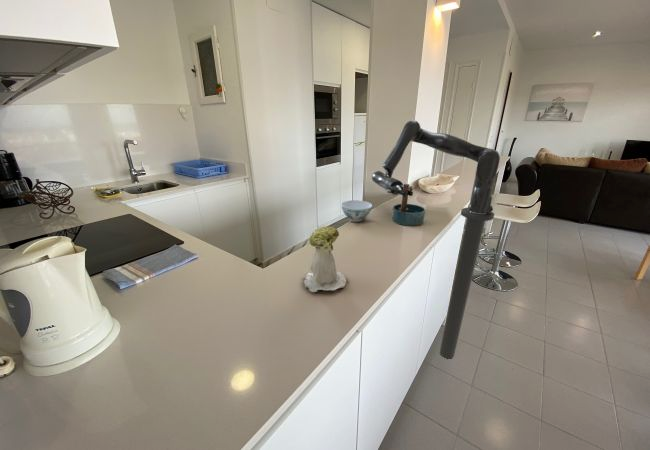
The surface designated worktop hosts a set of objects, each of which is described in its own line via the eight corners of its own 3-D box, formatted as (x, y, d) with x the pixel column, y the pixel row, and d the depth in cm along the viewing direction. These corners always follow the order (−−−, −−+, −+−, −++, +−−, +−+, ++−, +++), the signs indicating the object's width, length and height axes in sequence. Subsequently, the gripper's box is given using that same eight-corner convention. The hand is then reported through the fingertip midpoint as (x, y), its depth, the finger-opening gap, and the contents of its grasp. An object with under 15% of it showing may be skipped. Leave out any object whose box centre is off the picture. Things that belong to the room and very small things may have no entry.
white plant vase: (351, 291, 81) (354, 234, 75) (308, 297, 78) (307, 238, 72) (339, 271, 92) (341, 219, 85) (301, 275, 89) (300, 222, 82)
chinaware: (337, 215, 144) (337, 201, 141) (363, 213, 147) (364, 199, 144) (346, 226, 130) (347, 210, 127) (376, 223, 134) (377, 207, 131)
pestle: (407, 215, 138) (411, 183, 132) (407, 218, 134) (411, 185, 128) (398, 214, 139) (401, 183, 133) (398, 217, 135) (401, 185, 129)
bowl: (422, 217, 142) (424, 205, 140) (424, 227, 128) (426, 214, 126) (392, 214, 146) (393, 202, 143) (391, 224, 132) (392, 211, 130)
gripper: (380, 179, 142) (395, 187, 127) (405, 178, 145) (423, 185, 129) (379, 193, 145) (394, 202, 129) (404, 192, 148) (421, 201, 132)
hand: (408, 194), depth 129 cm, fingers closed on pestle, 2 cm apart
